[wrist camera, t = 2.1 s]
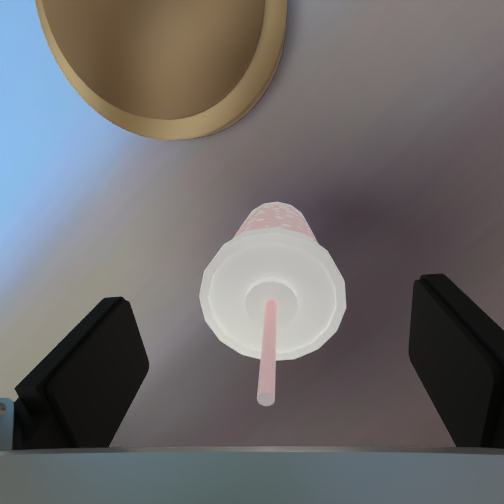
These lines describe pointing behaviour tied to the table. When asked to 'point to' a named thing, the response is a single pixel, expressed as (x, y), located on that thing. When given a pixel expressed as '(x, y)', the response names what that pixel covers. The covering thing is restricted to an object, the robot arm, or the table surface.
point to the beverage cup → (273, 291)
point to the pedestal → (167, 59)
